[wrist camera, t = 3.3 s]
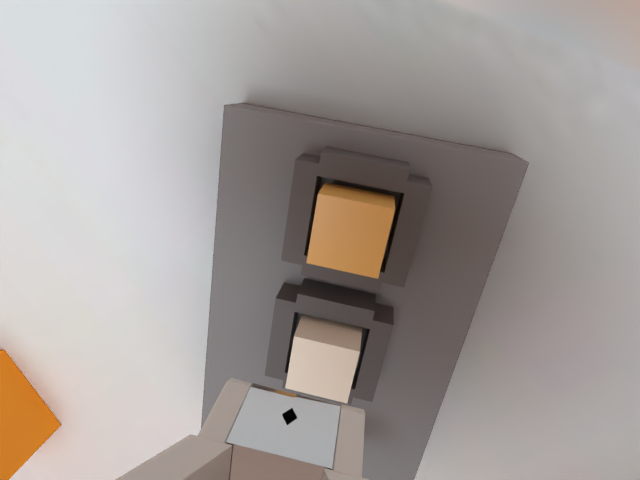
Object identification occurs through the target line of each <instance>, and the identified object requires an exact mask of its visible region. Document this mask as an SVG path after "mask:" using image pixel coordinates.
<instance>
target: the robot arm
mask: <svg viewBox="0 0 640 480" xmlns="http://www.w3.org/2000/svg"><path fill="white" fill-rule="evenodd" d="M364 427H365V411H364V409H360V408H356V407H351V406H347V405H342V404H341V405H340V404H337V403H332V402H328V401H324V400H319V399H315V398H311V397H306V396H302V395H298V394H293V393H289V392H285V391H281V390H278V389H274V388H270V387H266V386H263V385H259V384H255V383H253V384H252V383H249V382H245V381H242V380H238V379H234V378H230V379H229V380H228V381H227V382H226V384H225V386H224V387H223V389H222V391H221V393H220V395H219V397H218V399H217V400H216V402H215V404H214V406H213V408H212V410H211V412H210V414H209V415H208V417H207V419H206V421H205V423H204V425H203V427H202V429H201V430H200V432H199V434H198V436H194V435H189V436H187V437H186V438H184V439H182V440H181V441H179V442H177V443H176V444H174V445H172V446H171V447H169V448H167V449H166V450H164V451H162V452H161V453H159V454H157V455H156V456H154V457H152V458H151V459H149V460H147V461H146V462H144V463H142V464H141V465H139V466H137V467H136V468H134V469H132V470H131V471H129V472H127V473H126V474H124V475H123V476H121V477H119V478H118V479H116V480H369V479H365V478H362V464H363V445H364Z"/></svg>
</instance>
